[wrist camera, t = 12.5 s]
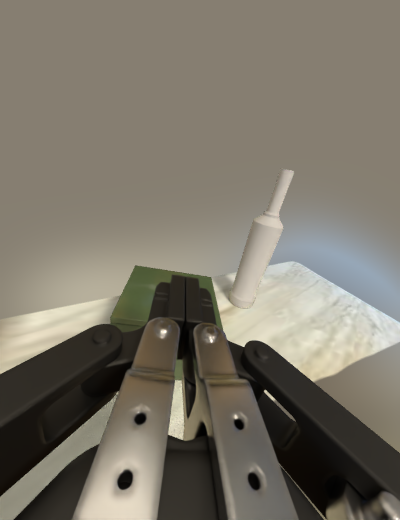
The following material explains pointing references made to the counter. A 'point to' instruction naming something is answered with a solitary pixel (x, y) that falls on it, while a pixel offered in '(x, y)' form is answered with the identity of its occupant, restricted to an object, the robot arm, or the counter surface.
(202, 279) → the lid
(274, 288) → the counter surface
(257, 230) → the bottle
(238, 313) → the counter surface
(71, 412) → the robot arm
